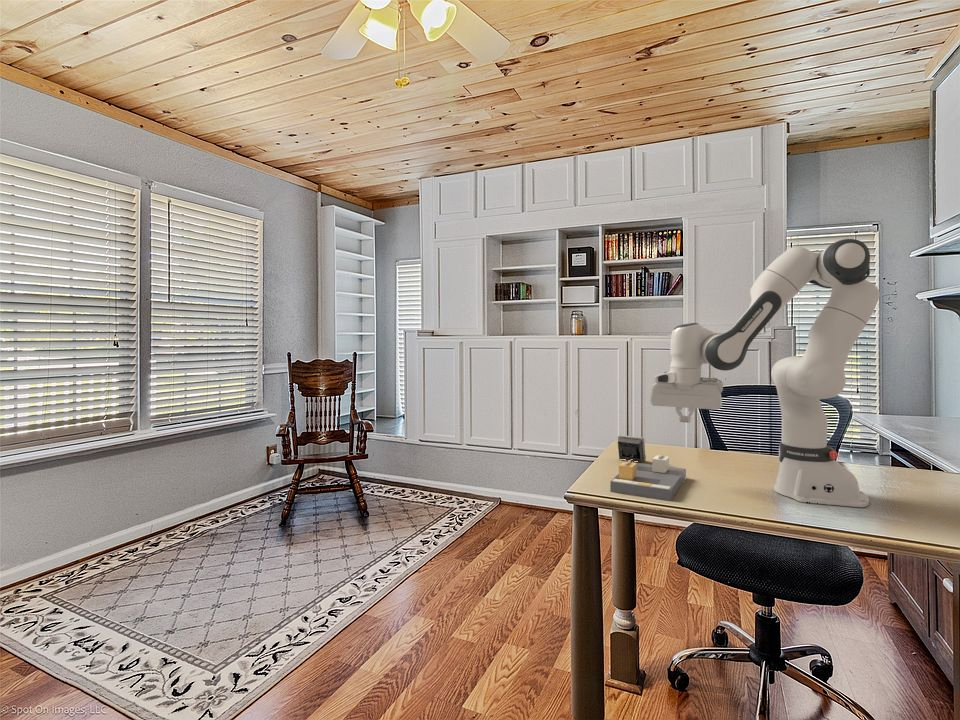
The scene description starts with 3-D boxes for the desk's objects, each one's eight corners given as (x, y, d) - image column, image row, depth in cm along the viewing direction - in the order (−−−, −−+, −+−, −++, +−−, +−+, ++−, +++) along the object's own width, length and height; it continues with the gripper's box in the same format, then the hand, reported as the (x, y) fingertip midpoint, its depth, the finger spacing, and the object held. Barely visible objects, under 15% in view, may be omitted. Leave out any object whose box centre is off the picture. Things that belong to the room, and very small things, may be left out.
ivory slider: (668, 469, 166) (669, 454, 165) (665, 473, 161) (665, 458, 161) (655, 467, 168) (656, 453, 167) (652, 471, 164) (652, 456, 163)
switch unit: (685, 478, 167) (686, 467, 166) (670, 500, 146) (670, 489, 146) (632, 471, 175) (632, 461, 175) (610, 491, 155) (610, 480, 155)
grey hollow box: (646, 461, 188) (645, 436, 186) (642, 465, 183) (641, 440, 182) (620, 457, 193) (619, 433, 191) (615, 462, 189) (615, 437, 187)
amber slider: (636, 475, 159) (636, 461, 159) (632, 480, 155) (632, 465, 154) (623, 474, 161) (623, 459, 161) (618, 478, 157) (618, 463, 157)
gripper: (724, 377, 156) (723, 423, 157) (653, 374, 167) (653, 417, 168) (721, 379, 151) (721, 426, 152) (649, 376, 161) (648, 421, 162)
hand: (685, 422), depth 160 cm, fingers closed
